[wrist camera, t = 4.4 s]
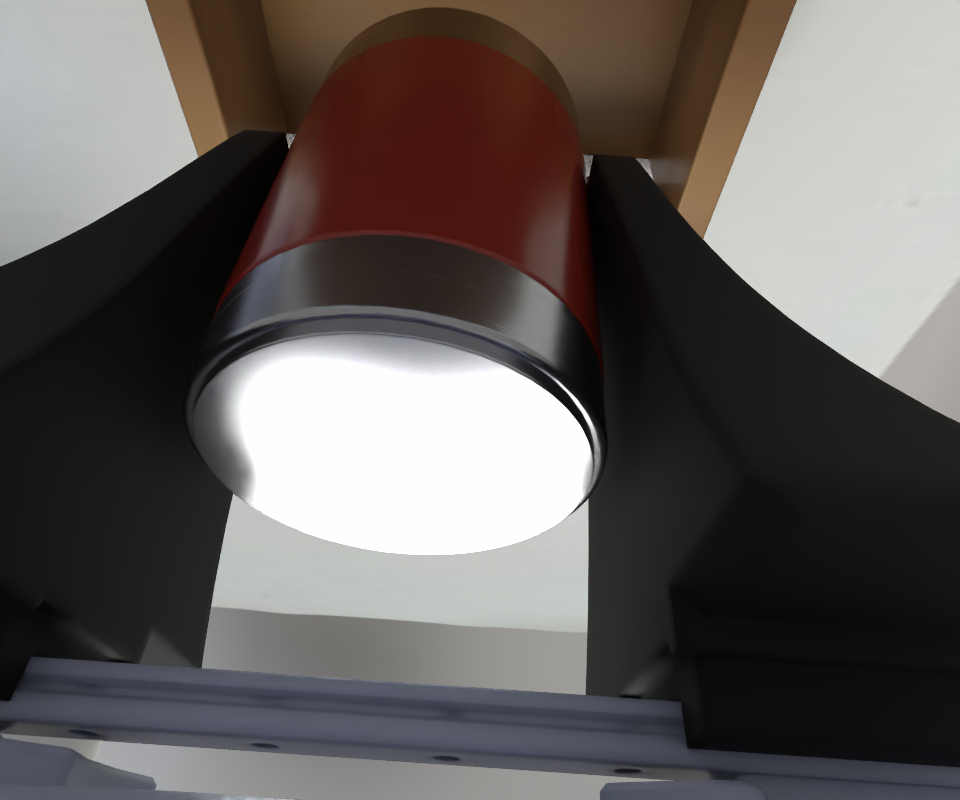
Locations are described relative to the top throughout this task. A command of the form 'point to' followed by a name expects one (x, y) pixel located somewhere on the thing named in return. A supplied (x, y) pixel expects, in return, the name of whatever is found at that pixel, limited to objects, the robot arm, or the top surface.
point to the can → (415, 304)
